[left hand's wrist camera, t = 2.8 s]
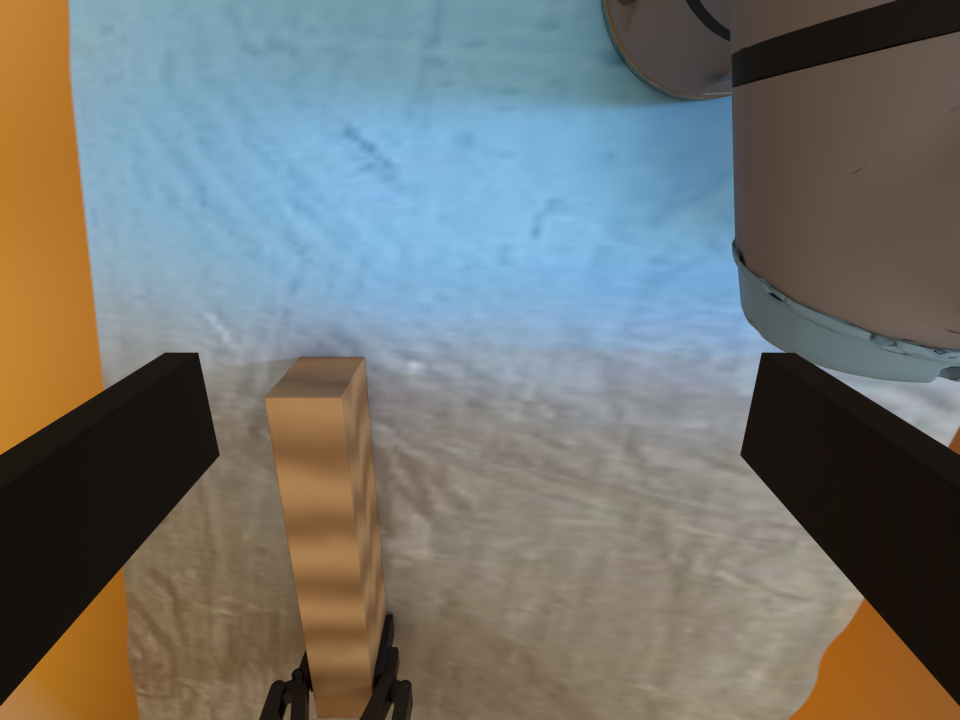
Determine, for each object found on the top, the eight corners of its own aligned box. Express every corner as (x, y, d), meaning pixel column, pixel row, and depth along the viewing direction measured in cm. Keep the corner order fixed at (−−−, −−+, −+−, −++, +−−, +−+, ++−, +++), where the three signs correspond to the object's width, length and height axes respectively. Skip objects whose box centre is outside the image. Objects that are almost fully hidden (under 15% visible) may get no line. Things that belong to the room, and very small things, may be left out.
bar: (300, 357, 45) (264, 397, 37) (364, 357, 45) (340, 397, 37) (339, 643, 57) (317, 718, 49) (389, 643, 57) (375, 718, 49)
